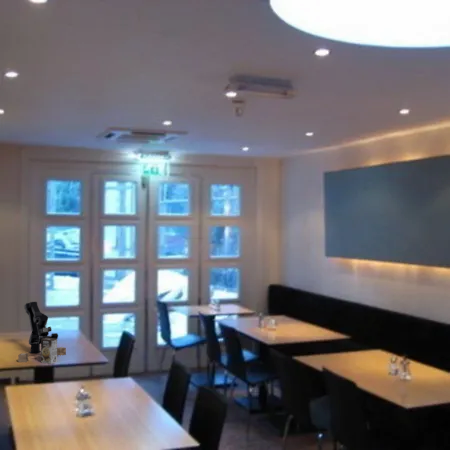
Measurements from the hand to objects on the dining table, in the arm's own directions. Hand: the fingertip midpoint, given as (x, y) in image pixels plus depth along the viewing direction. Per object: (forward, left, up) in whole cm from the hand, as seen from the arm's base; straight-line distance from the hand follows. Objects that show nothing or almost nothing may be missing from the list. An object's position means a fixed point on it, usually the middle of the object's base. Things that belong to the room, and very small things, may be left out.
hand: (46, 348), depth 416 cm
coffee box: (+4, +5, -9) cm, 11 cm away
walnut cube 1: (+8, -13, -8) cm, 17 cm away
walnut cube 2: (-18, -1, -8) cm, 20 cm away
